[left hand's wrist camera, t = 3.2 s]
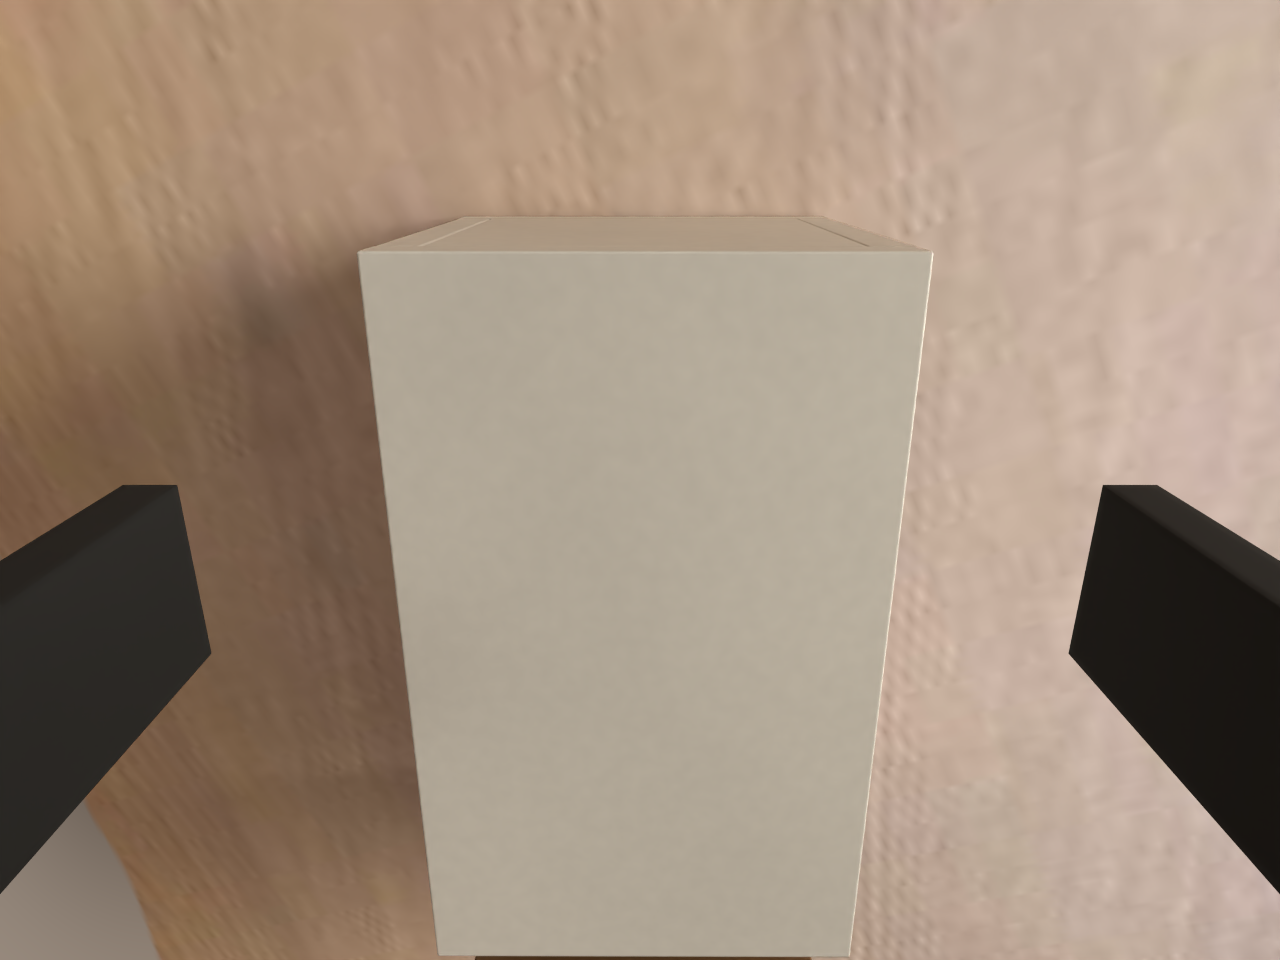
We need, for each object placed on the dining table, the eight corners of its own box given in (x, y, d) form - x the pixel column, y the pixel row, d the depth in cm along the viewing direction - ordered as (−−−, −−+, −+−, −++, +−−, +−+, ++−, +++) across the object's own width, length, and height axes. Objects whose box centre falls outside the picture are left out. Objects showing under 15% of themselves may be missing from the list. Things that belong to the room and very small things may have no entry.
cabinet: (787, 716, 33) (850, 957, 23) (498, 716, 33) (437, 956, 23) (824, 216, 26) (934, 250, 16) (463, 216, 26) (355, 251, 16)
